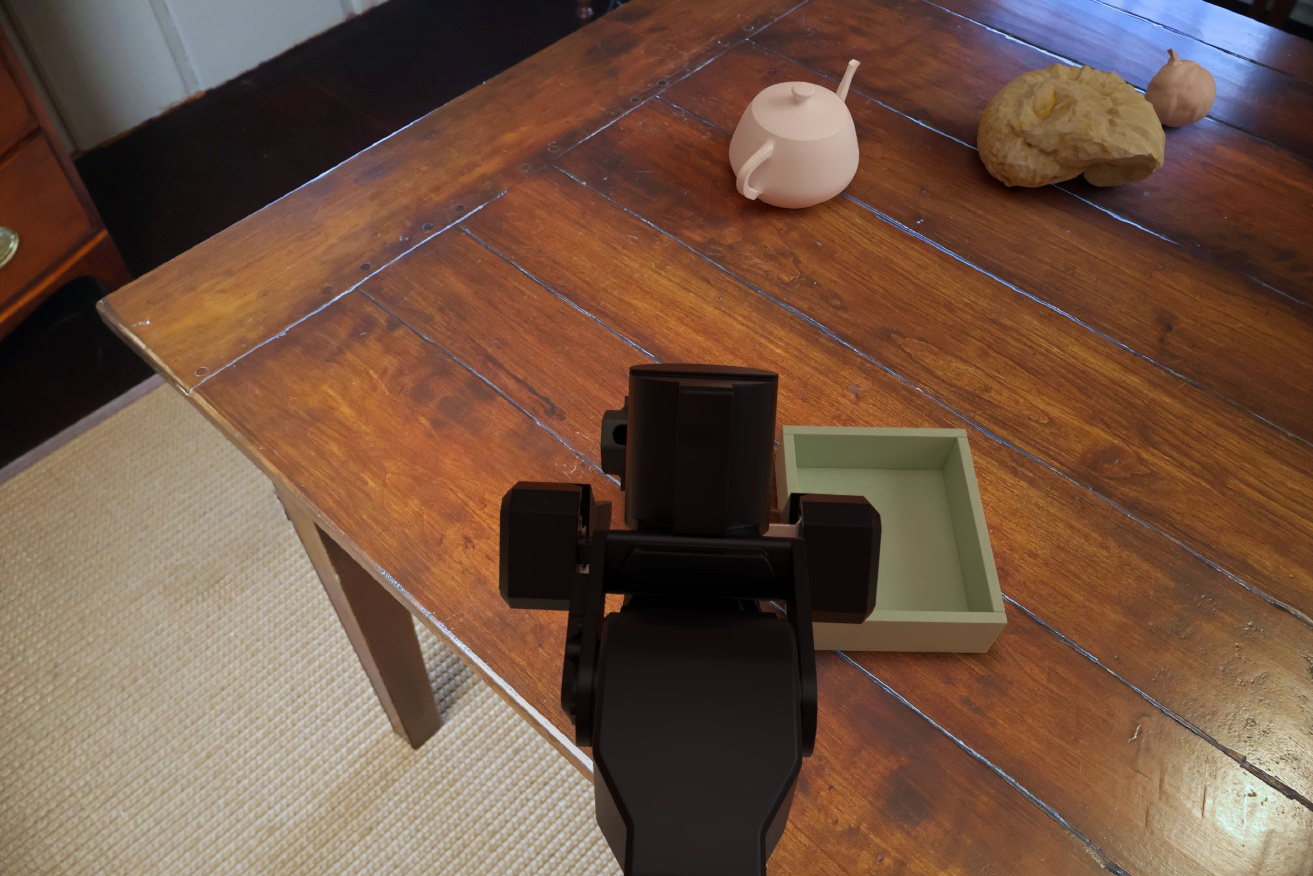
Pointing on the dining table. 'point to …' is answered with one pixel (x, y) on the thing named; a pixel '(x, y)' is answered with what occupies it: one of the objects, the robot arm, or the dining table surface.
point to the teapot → (796, 144)
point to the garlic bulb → (1181, 92)
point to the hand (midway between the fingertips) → (686, 512)
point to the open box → (906, 533)
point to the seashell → (1070, 129)
